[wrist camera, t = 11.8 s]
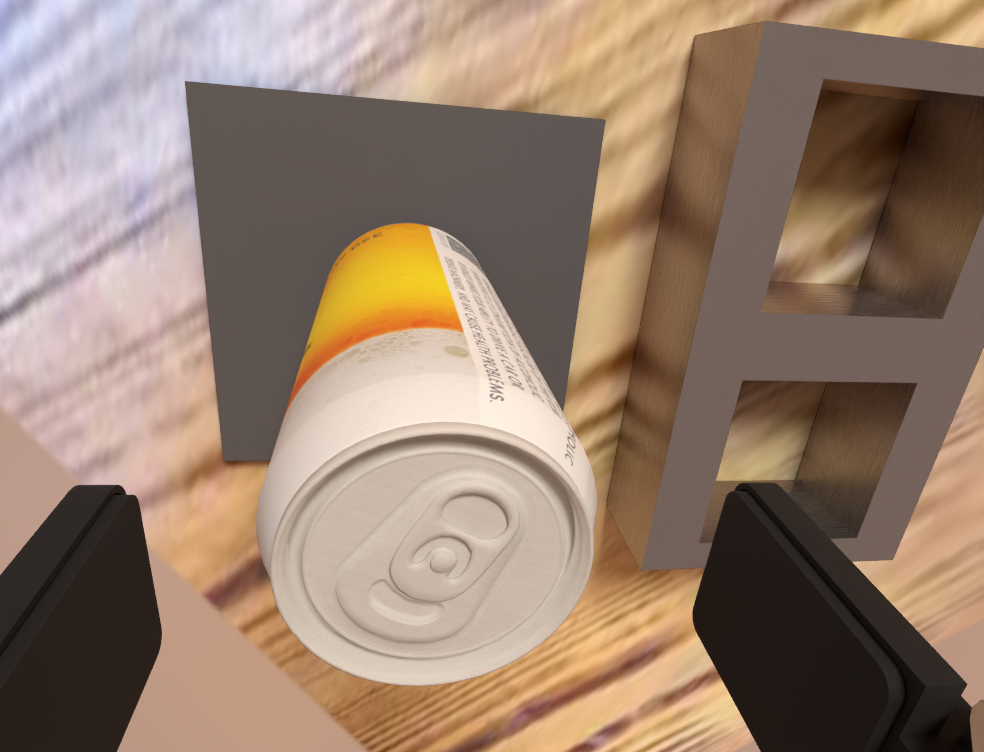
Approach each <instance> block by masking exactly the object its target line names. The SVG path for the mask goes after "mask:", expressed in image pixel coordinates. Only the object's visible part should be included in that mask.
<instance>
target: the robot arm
mask: <svg viewBox="0 0 984 752" xmlns="http://www.w3.org/2000/svg"><path fill="white" fill-rule="evenodd" d="M693 623H694V627H695V630H696V632H697V634H698V636H699V638H700V640H701V642H702V644H703V645H704V647H705V649H706V651H707V653H708V655H709V656H710V658H711V660H712V662H713V664H714V666H715V668H716V669H717V671H718V673H719V675H720V677H721V679H722V681H723V682H724V684H725V686H726V688H727V690H728V692H729V693H730V695H731V697H732V699H733V701H734V703H735V705H736V706H737V708H738V710H739V712H740V714H741V716H742V717H743V719H744V721H745V723H746V725H747V727H748V729H749V730H750V732H751V734H752V736H753V738H754V740H755V741H756V743H757V745H758V747H759V749H760V751H761V752H984V700H980V701H979V702H978V703H977V704H976V705H974V706H973V707H971V706H970V705H969V704H968V703H967V702H966V701H965V700H964V699H963V698H962V696H961V694H962V693H963V691H964V689H965V688H966V686H967V683H966V682H965V681H964V680H963V679H962V678H961V677H960V676H959V675H958V674H957V673H956V671H955V670H954V669H953V668H952V667H951V666H950V665H949V664H948V663H947V662H946V661H945V660H944V659H943V658H942V657H941V656H940V655H939V653H937V652H936V650H935V649H934V648H933V647H932V646H931V645H930V644H929V643H928V642H927V641H926V640H925V639H924V638H923V637H922V636H921V634H920V633H919V632H918V631H917V630H916V629H915V628H914V627H913V626H912V625H911V624H910V623H909V622H908V621H907V620H906V619H905V618H904V617H903V615H902V614H901V613H900V612H899V611H898V610H897V609H896V608H895V607H894V606H893V605H892V604H891V603H890V602H889V601H888V600H887V599H886V598H885V596H884V595H883V594H882V593H881V592H880V591H879V590H878V589H877V588H876V587H875V586H874V585H873V584H872V583H871V582H870V581H869V580H868V579H867V577H866V576H865V575H864V574H863V573H862V572H861V571H860V570H859V569H858V568H857V567H856V566H855V565H854V564H853V563H852V562H851V561H850V559H849V558H848V557H847V556H846V555H845V554H844V553H843V552H842V551H841V550H840V549H839V548H838V547H837V546H836V545H835V544H834V543H833V542H832V540H831V539H830V538H829V537H828V536H827V535H826V534H825V533H824V532H823V531H822V530H821V529H820V528H819V527H818V526H817V525H816V524H815V523H814V521H813V520H812V519H811V518H810V517H809V516H808V515H807V514H806V513H805V512H804V511H803V510H802V509H801V508H800V507H799V506H798V505H797V504H796V502H795V501H794V500H793V499H792V498H791V497H790V496H789V495H788V494H787V493H786V492H785V491H784V490H783V489H782V488H781V487H780V486H779V485H778V484H776V483H772V482H766V483H740V484H739V485H738V486H737V487H736V488H735V490H734V491H731V492H729V493H728V494H727V496H726V498H725V501H724V505H723V508H722V511H721V515H720V518H719V522H718V525H717V529H716V532H715V535H714V539H713V542H712V546H711V549H710V552H709V556H708V559H707V563H706V566H705V570H704V573H703V576H702V580H701V583H700V587H699V590H698V593H697V597H696V600H695V604H694V607H693ZM161 639H162V629H161V623H160V617H159V611H158V606H157V600H156V595H155V589H154V584H153V578H152V573H151V567H150V561H149V556H148V550H147V545H146V539H145V534H144V528H143V523H142V517H141V512H140V506H139V502H138V499H137V497H136V496H135V495H126V492H125V490H124V488H123V487H122V486H120V485H78V486H74V487H73V488H72V489H71V490H70V491H69V492H68V493H67V494H66V496H65V497H64V498H63V499H62V501H61V502H60V503H59V504H58V505H57V507H56V508H55V509H54V510H53V511H52V513H51V514H50V515H49V516H48V518H47V519H46V520H45V521H44V522H43V524H42V525H41V526H40V527H39V529H38V530H37V531H36V532H35V533H34V535H33V536H32V537H31V538H30V540H29V541H28V542H27V543H26V545H25V546H24V547H23V548H22V550H21V551H20V552H19V553H18V554H17V555H16V557H15V558H14V559H13V560H12V562H11V563H10V564H9V565H8V566H7V568H6V569H5V570H4V571H3V573H2V574H1V575H0V752H117V750H118V747H119V745H120V743H121V741H122V738H123V736H124V733H125V731H126V729H127V726H128V724H129V722H130V719H131V717H132V715H133V712H134V710H135V708H136V705H137V703H138V701H139V698H140V696H141V694H142V691H143V689H144V687H145V684H146V682H147V679H148V677H149V675H150V673H151V670H152V668H153V666H154V663H155V661H156V659H157V656H158V653H159V650H160V646H161Z"/></svg>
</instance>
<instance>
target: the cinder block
mask: <svg viewBox="0 0 984 752" xmlns="http://www.w3.org/2000/svg"><path fill="white" fill-rule="evenodd" d="M820 90H826V91H835V92H844V93H854V94H863V95H872V96H882V97H891V98H900V99H910V100H919V101H920V102H919V105H918V108H917V111H916V114H915V117H914V120H913V123H912V126H911V129H910V133H909V136H908V139H907V142H906V145H905V148H904V151H903V154H902V157H901V160H900V163H899V166H898V169H897V172H896V175H895V178H894V181H893V184H892V187H891V190H890V193H889V196H888V200H887V203H886V206H885V209H884V212H883V215H882V218H881V221H880V224H879V227H878V230H877V233H876V236H875V239H874V242H873V245H872V248H871V251H870V254H869V257H868V260H867V263H866V267H865V270H864V273H863V276H862V279H861V282H860V285H859V286H853V285H831V284H809V283H787V282H769V280H770V276H771V273H772V269H773V265H774V262H775V258H776V254H777V250H778V247H779V243H780V239H781V235H782V232H783V228H784V224H785V221H786V217H787V213H788V209H789V206H790V202H791V198H792V194H793V191H794V187H795V183H796V180H797V176H798V172H799V168H800V165H801V161H802V157H803V153H804V150H805V146H806V142H807V139H808V135H809V131H810V127H811V124H812V120H813V116H814V112H815V109H816V105H817V101H818V98H819V94H820ZM983 348H984V48H977V47H969V46H961V45H953V44H945V43H937V42H929V41H921V40H914V39H906V38H898V37H890V36H882V35H874V34H866V33H858V32H850V31H842V30H834V29H827V28H819V27H811V26H803V25H795V24H787V23H779V22H771V21H762V22H757V23H752V24H747V25H742V26H737V27H733V28H728V29H723V30H718V31H713V32H708V33H703V34H698V35H695V40H694V45H693V50H692V56H691V61H690V66H689V71H688V77H687V82H686V87H685V93H684V98H683V103H682V108H681V114H680V119H679V124H678V130H677V135H676V140H675V145H674V151H673V156H672V161H671V167H670V172H669V177H668V182H667V188H666V193H665V198H664V204H663V209H662V214H661V219H660V225H659V230H658V235H657V241H656V246H655V251H654V256H653V262H652V267H651V272H650V278H649V283H648V288H647V293H646V299H645V304H644V309H643V315H642V320H641V325H640V330H639V336H638V341H637V346H636V351H635V357H634V362H633V367H632V373H631V378H630V383H629V388H628V394H627V399H626V404H625V410H624V415H623V420H622V425H621V431H620V436H619V441H618V447H617V452H616V457H615V462H614V468H613V473H612V478H611V484H610V489H609V494H608V499H607V505H606V506H607V508H608V510H609V512H610V514H611V516H612V518H613V520H614V521H615V523H616V525H617V527H618V529H619V531H620V533H621V534H622V536H623V538H624V540H625V542H626V544H627V546H628V547H629V549H630V551H631V553H632V555H633V557H634V559H635V561H636V562H637V564H638V566H639V568H640V570H662V569H686V568H705V566H706V563H707V559H708V556H709V552H710V549H711V546H712V542H713V539H714V535H715V532H716V529H717V525H718V522H719V518H720V515H721V511H722V508H723V505H724V501H725V498H726V496H727V494H728V493H729V492H731V491H734V490H735V488H736V487H737V486H738V485H739V484H740V483H766V482H772V483H776V484H778V485H779V486H780V487H781V488H782V489H783V490H784V491H785V492H786V493H787V494H788V495H789V496H790V497H791V498H792V499H793V500H794V501H795V502H796V504H797V505H798V506H799V507H800V508H801V509H802V510H803V511H804V512H805V513H806V514H807V515H808V516H809V517H810V518H811V519H812V520H813V521H814V523H815V524H816V525H817V526H818V527H819V528H820V529H821V530H822V531H823V532H824V533H825V534H826V535H827V536H828V537H829V538H830V539H831V540H832V542H833V543H834V544H835V545H836V546H837V547H838V548H839V549H840V550H841V551H842V552H843V553H844V554H845V555H846V556H847V557H848V558H849V559H850V561H851V562H855V561H879V560H893V558H894V556H895V554H896V551H897V549H898V547H899V544H900V542H901V540H902V537H903V535H904V533H905V530H906V528H907V526H908V523H909V521H910V519H911V516H912V514H913V512H914V509H915V507H916V505H917V502H918V500H919V498H920V495H921V493H922V491H923V488H924V486H925V484H926V481H927V479H928V477H929V474H930V472H931V470H932V467H933V465H934V463H935V460H936V458H937V456H938V453H939V451H940V449H941V446H942V444H943V442H944V439H945V437H946V435H947V432H948V430H949V428H950V425H951V423H952V420H953V418H954V416H955V413H956V411H957V409H958V406H959V404H960V402H961V399H962V397H963V395H964V392H965V390H966V388H967V385H968V383H969V381H970V378H971V376H972V374H973V371H974V369H975V367H976V364H977V362H978V360H979V357H980V355H981V353H982V350H983ZM743 380H756V381H821V382H827V385H826V388H825V391H824V394H823V397H822V401H821V404H820V407H819V410H818V413H817V416H816V419H815V422H814V425H813V428H812V431H811V434H810V437H809V440H808V443H807V446H806V449H805V452H804V455H803V458H802V461H801V464H800V468H799V471H798V474H797V477H796V480H782V481H717V482H715V481H716V478H717V474H718V470H719V467H720V463H721V459H722V455H723V452H724V448H725V444H726V440H727V437H728V433H729V429H730V426H731V422H732V418H733V414H734V411H735V407H736V403H737V399H738V396H739V392H740V388H741V385H742V381H743Z"/></svg>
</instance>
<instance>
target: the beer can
mask: <svg viewBox="0 0 984 752" xmlns="http://www.w3.org/2000/svg"><path fill="white" fill-rule="evenodd" d="M596 511H597V494H596V486H595V479H594V476H593V472H592V468H591V465H590V462H589V460H588V458H587V456H586V453H585V451H584V449H583V447H582V445H581V444H580V442H579V440H578V438H577V436H576V435H575V433H574V431H573V429H572V428H571V426H570V424H569V422H568V420H567V419H566V417H565V415H564V413H563V412H562V410H561V408H560V406H559V404H558V403H557V401H556V399H555V397H554V396H553V394H552V392H551V390H550V388H549V387H548V385H547V383H546V381H545V380H544V378H543V376H542V374H541V372H540V371H539V369H538V367H537V365H536V364H535V362H534V360H533V358H532V356H531V355H530V353H529V351H528V349H527V348H526V346H525V344H524V342H523V340H522V339H521V337H520V335H519V333H518V332H517V330H516V328H515V326H514V324H513V323H512V321H511V319H510V317H509V316H508V314H507V312H506V310H505V308H504V307H503V305H502V303H501V301H500V300H499V298H498V296H497V294H496V292H495V291H494V289H493V287H492V285H491V284H490V282H489V280H488V278H487V276H486V275H485V273H484V271H483V269H482V268H481V266H480V264H479V263H478V261H477V259H476V258H475V257H474V255H473V254H472V253H471V252H470V250H468V249H467V248H466V247H465V246H464V245H463V244H462V243H461V242H460V241H458V240H457V239H456V238H454V237H453V236H451V235H449V234H448V233H446V232H444V231H441V230H439V229H437V228H433V227H430V226H427V225H422V224H414V223H398V224H391V225H386V226H383V227H379V228H376V229H374V230H372V231H369V232H367V233H365V234H364V235H362V236H360V237H359V238H357V239H356V240H355V241H353V242H352V243H351V244H350V245H349V246H348V247H347V248H346V249H345V250H344V251H343V252H342V253H341V254H340V256H339V257H338V258H337V260H336V261H335V263H334V265H333V267H332V269H331V271H330V273H329V276H328V279H327V282H326V285H325V288H324V291H323V294H322V298H321V301H320V304H319V307H318V310H317V314H316V317H315V320H314V323H313V326H312V330H311V333H310V336H309V339H308V342H307V346H306V349H305V352H304V355H303V358H302V362H301V365H300V368H299V371H298V374H297V378H296V381H295V384H294V387H293V390H292V394H291V397H290V400H289V403H288V406H287V410H286V413H285V416H284V419H283V422H282V426H281V429H280V432H279V435H278V438H277V442H276V445H275V448H274V451H273V454H272V458H271V461H270V464H269V467H268V470H267V474H266V477H265V480H264V483H263V486H262V490H261V493H260V496H259V502H258V508H257V521H256V531H257V539H258V546H259V550H260V553H261V557H262V560H263V563H264V566H265V568H266V570H267V572H268V574H269V577H270V579H271V585H272V591H273V595H274V598H275V602H276V605H277V607H278V609H279V612H280V614H281V616H282V618H283V620H284V621H285V623H286V625H287V626H288V628H289V629H290V631H291V632H292V633H293V634H294V635H295V637H296V638H297V639H298V640H299V641H300V642H301V643H302V644H303V645H304V646H305V647H306V648H307V649H308V650H309V651H311V652H312V653H313V654H314V655H316V656H317V657H319V658H320V659H322V660H323V661H324V662H326V663H328V664H330V665H332V666H333V667H335V668H337V669H339V670H341V671H344V672H346V673H349V674H351V675H353V676H356V677H360V678H363V679H366V680H370V681H375V682H379V683H384V684H392V685H401V686H430V685H441V684H448V683H455V682H459V681H464V680H468V679H472V678H475V677H478V676H481V675H485V674H488V673H490V672H492V671H495V670H497V669H500V668H502V667H504V666H506V665H508V664H510V663H512V662H514V661H516V660H518V659H519V658H521V657H523V656H524V655H526V654H528V653H529V652H531V651H532V650H533V649H535V648H536V647H537V646H539V645H540V644H541V643H543V642H544V641H545V640H546V639H547V638H548V637H550V636H551V635H552V634H553V633H554V632H555V631H556V630H557V629H558V628H559V627H560V626H561V624H562V623H563V622H564V621H565V620H566V619H567V617H568V616H569V615H570V613H571V612H572V610H573V609H574V608H575V606H576V604H577V603H578V601H579V599H580V597H581V596H582V594H583V591H584V589H585V587H586V584H587V582H588V579H589V575H590V572H591V568H592V562H593V555H594V535H593V530H594V525H595V518H596Z"/></svg>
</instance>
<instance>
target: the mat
mask: <svg viewBox="0 0 984 752" xmlns="http://www.w3.org/2000/svg"><path fill="white" fill-rule="evenodd" d="M185 87H186V97H187V107H188V117H189V126H190V136H191V146H192V156H193V166H194V175H195V185H196V195H197V205H198V215H199V225H200V234H201V244H202V254H203V264H204V274H205V283H206V293H207V303H208V313H209V323H210V332H211V342H212V352H213V362H214V372H215V381H216V391H217V401H218V411H219V421H220V430H221V440H222V450H223V460H224V461H267V460H271V458H272V454H273V451H274V448H275V445H276V442H277V438H278V435H279V432H280V429H281V426H282V422H283V419H284V416H285V413H286V410H287V406H288V403H289V400H290V397H291V394H292V390H293V387H294V384H295V381H296V378H297V374H298V371H299V368H300V365H301V362H302V358H303V355H304V352H305V349H306V346H307V342H308V339H309V336H310V333H311V330H312V326H313V323H314V320H315V317H316V314H317V310H318V307H319V304H320V301H321V298H322V294H323V291H324V288H325V285H326V282H327V279H328V276H329V273H330V271H331V269H332V267H333V265H334V263H335V261H336V260H337V258H338V257H339V256H340V254H341V253H342V252H343V251H344V250H345V249H346V248H347V247H348V246H349V245H350V244H351V243H352V242H353V241H355V240H356V239H357V238H359V237H360V236H362V235H364V234H365V233H367V232H369V231H372V230H374V229H376V228H379V227H383V226H386V225H391V224H398V223H414V224H422V225H427V226H430V227H433V228H437V229H439V230H441V231H444V232H446V233H448V234H449V235H451V236H453V237H454V238H456V239H457V240H458V241H460V242H461V243H462V244H463V245H464V246H465V247H466V248H467V249H468V250H470V252H471V253H472V254H473V255H474V257H475V258H476V259H477V261H478V263H479V264H480V266H481V268H482V269H483V271H484V273H485V275H486V276H487V278H488V280H489V282H490V284H491V285H492V287H493V289H494V291H495V292H496V294H497V296H498V298H499V300H500V301H501V303H502V305H503V307H504V308H505V310H506V312H507V314H508V316H509V317H510V319H511V321H512V323H513V324H514V326H515V328H516V330H517V332H518V333H519V335H520V337H521V339H522V340H523V342H524V344H525V346H526V348H527V349H528V351H529V353H530V355H531V356H532V358H533V360H534V362H535V364H536V365H537V367H538V369H539V371H540V372H541V374H542V376H543V378H544V380H545V381H546V383H547V385H548V387H549V388H550V390H551V392H552V394H553V396H554V397H555V399H556V401H557V403H558V404H559V406H560V408H561V410H562V412H563V409H564V402H565V395H566V388H567V381H568V374H569V368H570V361H571V354H572V347H573V340H574V333H575V326H576V319H577V313H578V306H579V299H580V292H581V285H582V278H583V271H584V264H585V258H586V251H587V244H588V237H589V230H590V223H591V216H592V209H593V203H594V196H595V189H596V182H597V175H598V168H599V161H600V154H601V147H602V141H603V134H604V127H605V120H603V119H592V118H581V117H571V116H560V115H549V114H538V113H527V112H516V111H505V110H494V109H483V108H472V107H461V106H450V105H439V104H428V103H417V102H406V101H395V100H384V99H374V98H363V97H352V96H341V95H330V94H319V93H308V92H297V91H286V90H275V89H264V88H253V87H242V86H231V85H220V84H209V83H198V82H187V81H185Z"/></svg>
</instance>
